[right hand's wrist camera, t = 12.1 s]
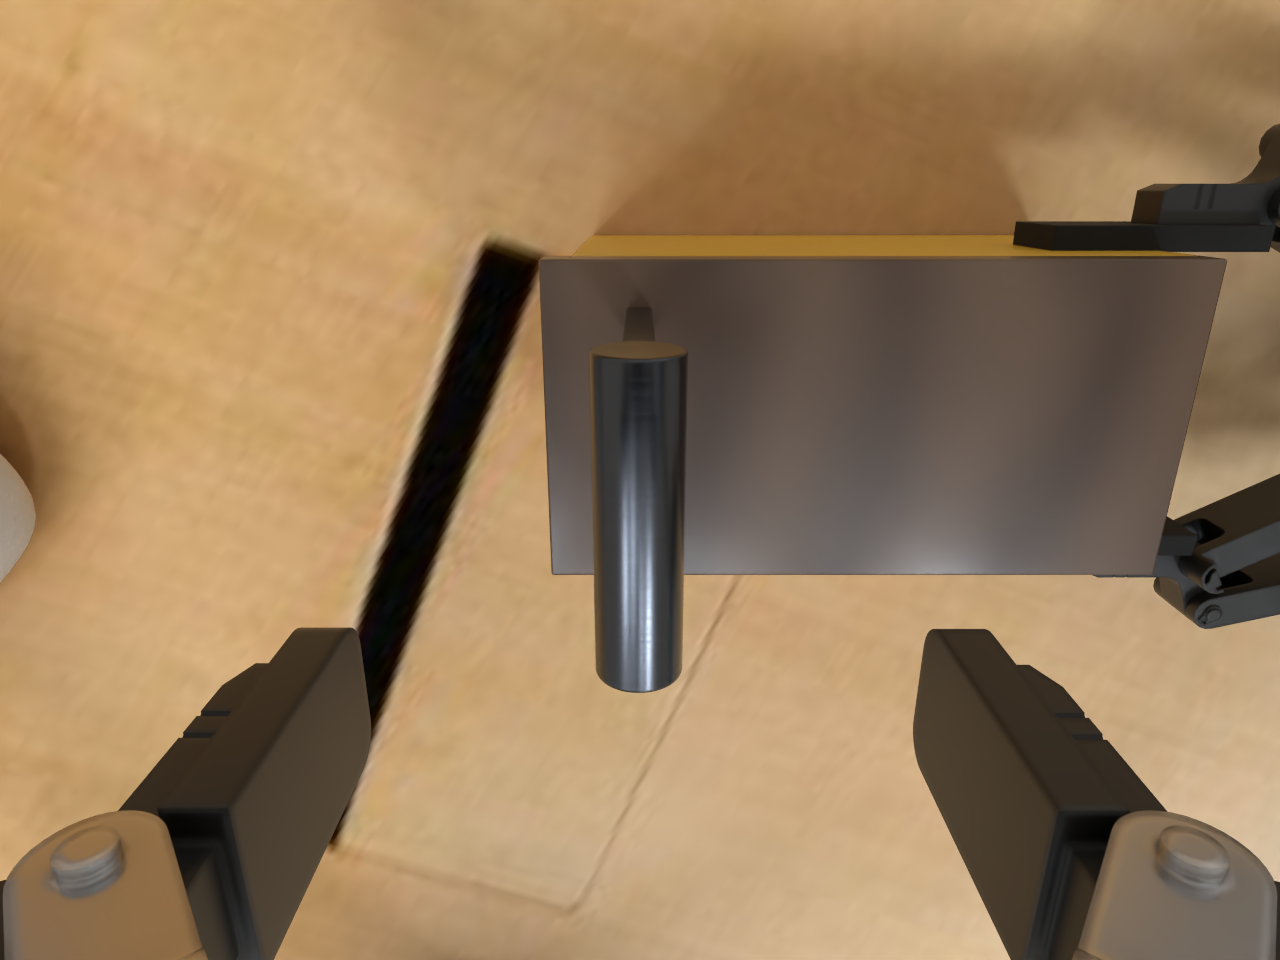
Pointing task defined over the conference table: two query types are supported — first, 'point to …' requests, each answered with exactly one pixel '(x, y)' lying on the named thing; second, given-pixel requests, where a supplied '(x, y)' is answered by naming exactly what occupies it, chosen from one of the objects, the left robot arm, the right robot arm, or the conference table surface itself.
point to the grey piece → (14, 517)
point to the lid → (857, 421)
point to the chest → (825, 246)
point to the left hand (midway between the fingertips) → (1008, 392)
